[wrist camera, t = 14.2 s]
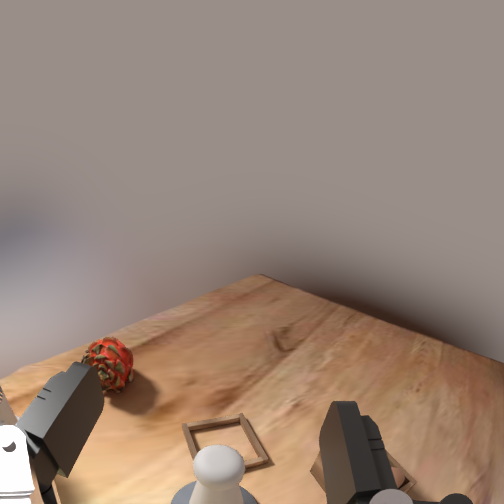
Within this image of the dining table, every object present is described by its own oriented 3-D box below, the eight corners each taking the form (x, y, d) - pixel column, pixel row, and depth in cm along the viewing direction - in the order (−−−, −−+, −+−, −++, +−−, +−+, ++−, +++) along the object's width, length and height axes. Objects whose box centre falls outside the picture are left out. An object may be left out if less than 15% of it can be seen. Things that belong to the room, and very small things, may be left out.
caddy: (346, 455, 34) (368, 414, 31) (390, 507, 25) (425, 472, 22) (309, 471, 32) (329, 430, 29) (354, 530, 22) (387, 499, 19)
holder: (241, 417, 41) (242, 413, 41) (267, 462, 33) (268, 459, 33) (181, 428, 37) (181, 423, 37) (200, 478, 30) (200, 475, 29)
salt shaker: (244, 496, 27) (257, 437, 23) (241, 535, 22) (255, 491, 18) (193, 490, 27) (189, 429, 23) (186, 529, 22) (177, 481, 18)
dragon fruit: (117, 415, 39) (105, 375, 48) (155, 381, 41) (136, 346, 51) (75, 384, 35) (72, 346, 45) (115, 347, 37) (104, 315, 47)
